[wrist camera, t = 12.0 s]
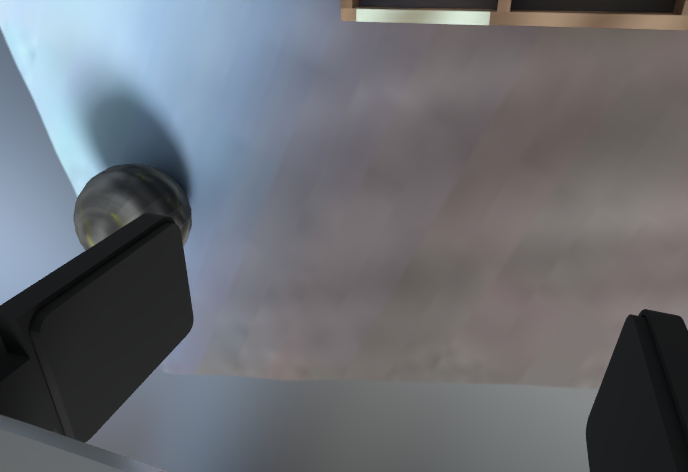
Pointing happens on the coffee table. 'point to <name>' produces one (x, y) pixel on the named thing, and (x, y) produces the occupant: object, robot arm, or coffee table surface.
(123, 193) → the decorative stone
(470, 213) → the coffee table surface
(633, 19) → the coaster frame
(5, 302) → the robot arm
